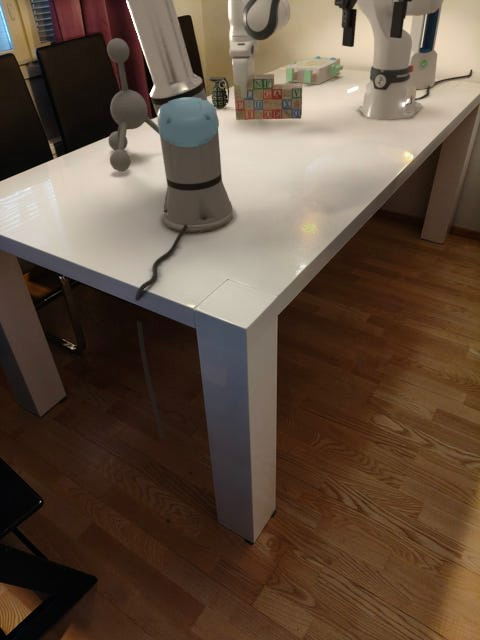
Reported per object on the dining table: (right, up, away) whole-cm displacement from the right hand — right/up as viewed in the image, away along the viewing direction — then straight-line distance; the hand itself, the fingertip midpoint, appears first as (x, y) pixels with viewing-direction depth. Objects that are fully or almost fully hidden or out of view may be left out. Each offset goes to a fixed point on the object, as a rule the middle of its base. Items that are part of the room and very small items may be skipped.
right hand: (245, 94), depth 157 cm
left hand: (+26, -14, -53) cm, 61 cm away
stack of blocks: (+8, -6, +3) cm, 10 cm away
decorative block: (+29, +30, +51) cm, 66 cm away
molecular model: (-29, -26, -17) cm, 42 cm away
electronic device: (+65, +17, +31) cm, 74 cm away
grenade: (-9, +4, +21) cm, 23 cm away
